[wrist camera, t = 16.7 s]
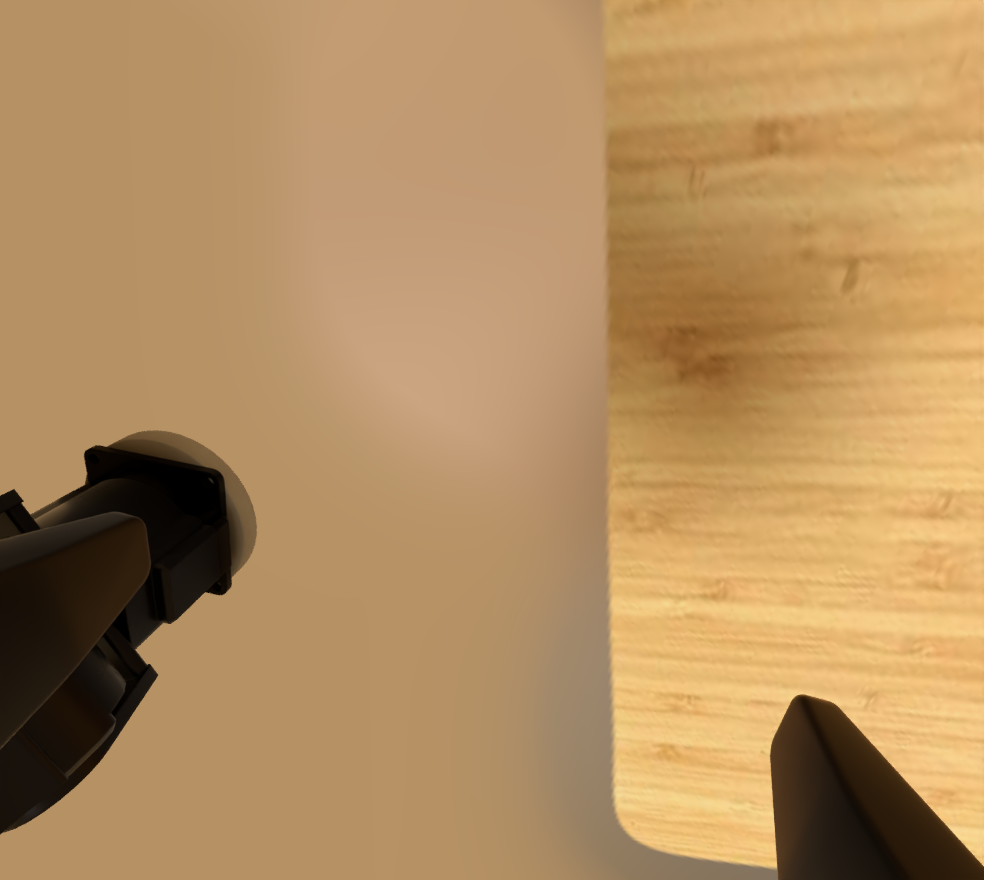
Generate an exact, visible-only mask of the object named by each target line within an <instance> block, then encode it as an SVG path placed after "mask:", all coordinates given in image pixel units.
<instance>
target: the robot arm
mask: <svg viewBox="0 0 984 880" xmlns="http://www.w3.org/2000/svg"><path fill="white" fill-rule="evenodd" d="M97 457H98V458H99V459H98V458H97ZM84 460H85V465H86V471H87V477H88V483H87V484H85V485H83V486H81V487H80V488H78V489H76V490H74V491H72V492H71V493H69V494H67V495H65V496H63V497H61V498H60V499H58V500H56V501H54V502H52V503H51V504H49V505H47V506H45V507H43V508H42V509H40V510H38V511H36V512H34V513H32V514H31V515H30V514H29V512H28V511H27V510H26V509H25V507H24V506H23V505H22V502H23V500H22V498H21V497H20V496H19V495H18V493H17V492H16V491H15V490H14V489H13V490H11V491H9V492H7V493H5V494H3V495H1V496H0V834H1V833H3V832H7V831H10V830H13V829H16V828H17V827H19V826H21V825H23V824H25V823H27V822H29V821H31V820H32V819H34V818H35V817H37V816H38V815H40V814H42V813H43V812H45V811H46V810H47V809H48V808H50V807H51V806H52V805H54V804H55V803H57V802H58V801H59V800H61V799H62V798H63V797H64V796H65V795H66V794H68V793H69V792H70V791H71V790H72V789H74V788H75V787H76V786H77V785H78V784H79V783H80V782H81V781H82V780H83V779H84V778H85V777H86V776H87V775H88V774H89V773H90V772H91V771H92V770H93V769H94V768H95V766H96V765H97V764H98V763H99V762H100V761H101V759H102V758H103V757H104V755H105V754H106V753H107V751H108V750H109V749H110V747H111V746H112V744H113V743H114V741H115V740H116V738H117V737H118V735H119V734H120V732H121V731H122V729H123V728H124V726H125V725H126V723H127V721H128V720H129V719H130V717H131V716H132V714H133V712H134V711H135V710H136V708H137V707H138V705H139V703H140V702H141V701H142V699H143V698H144V696H145V694H146V693H147V691H148V690H149V689H150V687H151V686H152V684H153V682H154V681H155V680H156V678H157V676H158V674H157V673H156V671H155V670H154V669H153V667H152V666H151V665H150V664H148V665H147V664H146V663H145V662H144V660H143V659H142V658H141V657H140V655H139V654H138V653H137V651H136V650H135V649H136V648H137V647H138V646H139V645H141V643H143V642H144V641H145V640H146V639H147V638H148V637H149V636H150V635H151V634H152V633H153V632H154V631H155V630H156V629H157V628H158V627H159V626H160V625H161V624H162V623H168V624H171V623H172V622H174V621H175V620H177V619H178V618H179V617H180V616H181V615H182V614H183V613H184V612H185V611H186V610H187V609H188V608H189V607H190V606H191V605H192V604H193V603H194V602H195V601H196V600H197V599H198V598H200V597H201V595H202V594H204V593H205V592H206V593H210V594H215V595H224V594H225V593H226V592H227V591H228V590H229V589H230V588H231V586H232V577H231V566H232V561H231V546H230V532H229V521H228V519H227V507H226V493H225V480H224V477H223V475H222V474H221V473H220V472H219V471H218V470H216V469H213V468H209V467H204V466H199V465H194V464H189V463H184V462H179V461H174V460H169V459H164V458H159V457H155V456H150V455H145V454H140V453H135V452H130V451H125V450H120V449H115V448H110V447H105V446H100V445H95V446H93V447H91V448H89V449H88V450H86V451H85V453H84ZM209 478H210V479H212V481H213V483H212V482H211V481H210V480H209ZM219 583H220V584H221V585H220V584H219ZM770 762H771V777H772V792H773V808H774V823H775V838H776V854H777V869H778V880H984V866H983V865H982V864H981V863H980V862H979V861H978V860H977V859H976V858H975V856H974V855H973V854H972V853H971V852H970V851H969V850H968V849H967V848H966V847H965V845H964V844H963V843H962V842H961V841H960V840H959V839H958V838H957V837H956V836H955V834H954V833H953V832H952V831H951V830H950V829H949V828H948V827H947V826H946V825H945V823H944V822H943V821H942V820H941V819H940V818H939V817H938V816H937V815H936V814H935V812H934V811H933V810H932V809H931V808H930V807H929V806H928V805H927V804H926V803H925V801H924V800H923V799H922V798H921V797H920V796H919V795H918V794H917V793H916V792H915V791H914V789H913V788H912V787H911V786H910V785H909V784H908V783H907V782H906V781H905V780H904V778H903V777H902V776H901V775H900V774H899V773H898V772H897V771H896V770H895V769H894V767H893V766H892V765H891V764H890V763H889V762H888V761H887V760H886V759H885V758H884V756H883V755H882V754H881V753H880V752H879V751H878V750H877V749H876V748H875V747H874V745H873V744H872V743H871V742H870V741H869V740H868V739H867V738H866V737H865V736H864V734H863V733H862V732H861V731H860V730H859V729H858V728H857V727H856V726H855V725H854V723H853V722H852V721H851V720H850V719H849V718H848V717H847V716H846V715H845V714H844V713H843V711H842V710H841V709H840V708H839V707H838V706H837V705H835V704H834V703H832V702H829V701H826V700H823V699H819V698H815V697H811V696H808V695H797V696H796V697H795V698H793V700H792V701H791V703H790V705H789V707H788V709H787V711H786V713H785V715H784V717H783V720H782V722H781V724H780V726H779V728H778V730H777V732H776V734H775V736H774V738H773V741H772V745H771V753H770Z"/></svg>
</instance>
